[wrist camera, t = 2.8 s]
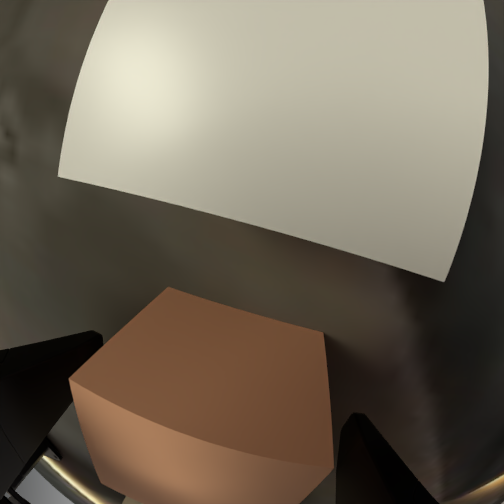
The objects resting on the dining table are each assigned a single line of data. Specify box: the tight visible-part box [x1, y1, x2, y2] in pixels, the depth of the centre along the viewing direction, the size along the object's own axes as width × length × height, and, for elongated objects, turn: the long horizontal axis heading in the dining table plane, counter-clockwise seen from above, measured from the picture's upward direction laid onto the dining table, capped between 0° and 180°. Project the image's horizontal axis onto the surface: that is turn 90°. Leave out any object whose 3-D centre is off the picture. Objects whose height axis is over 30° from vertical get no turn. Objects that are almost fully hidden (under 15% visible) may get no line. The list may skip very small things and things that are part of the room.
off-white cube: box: [58, 0, 488, 282], centre depth 5 cm, size 5×5×5 cm
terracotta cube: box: [69, 287, 334, 504], centre depth 7 cm, size 5×5×5 cm
